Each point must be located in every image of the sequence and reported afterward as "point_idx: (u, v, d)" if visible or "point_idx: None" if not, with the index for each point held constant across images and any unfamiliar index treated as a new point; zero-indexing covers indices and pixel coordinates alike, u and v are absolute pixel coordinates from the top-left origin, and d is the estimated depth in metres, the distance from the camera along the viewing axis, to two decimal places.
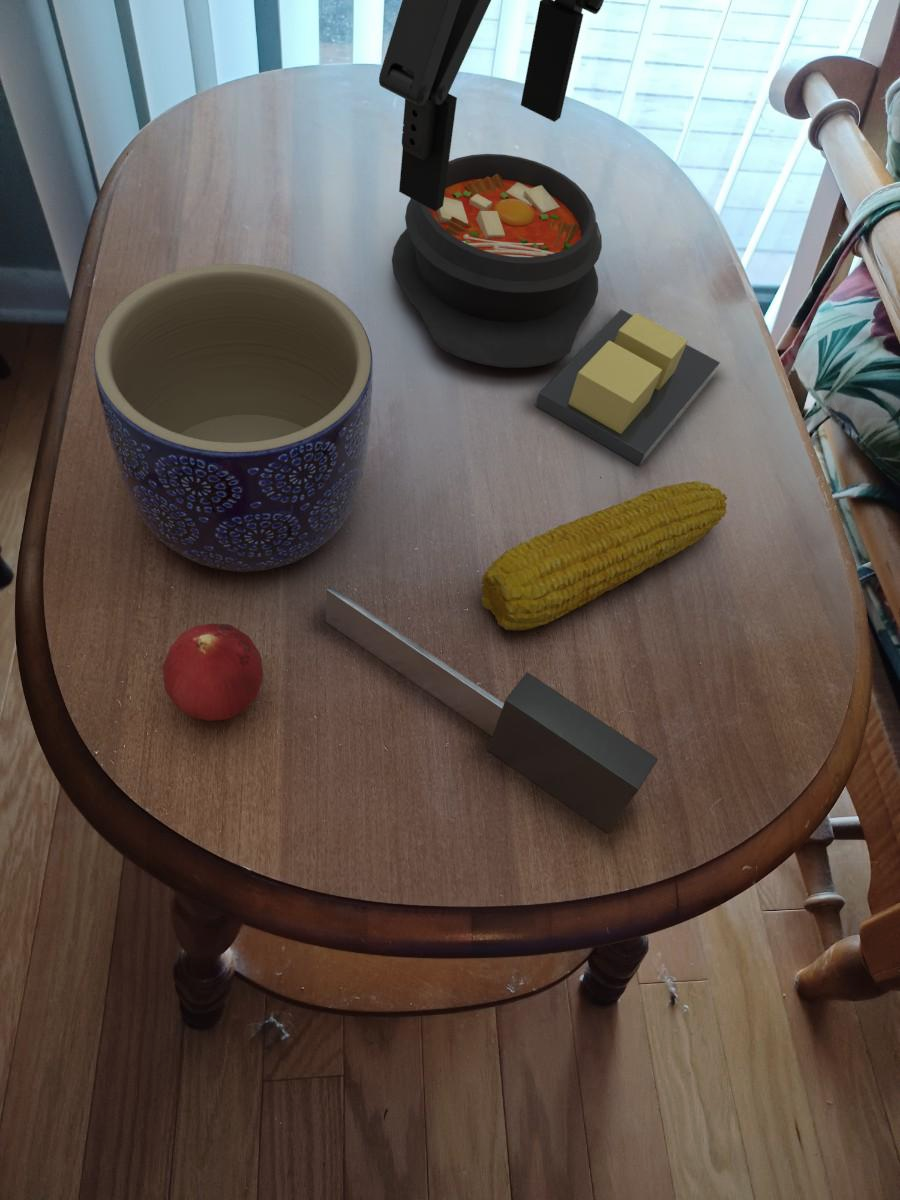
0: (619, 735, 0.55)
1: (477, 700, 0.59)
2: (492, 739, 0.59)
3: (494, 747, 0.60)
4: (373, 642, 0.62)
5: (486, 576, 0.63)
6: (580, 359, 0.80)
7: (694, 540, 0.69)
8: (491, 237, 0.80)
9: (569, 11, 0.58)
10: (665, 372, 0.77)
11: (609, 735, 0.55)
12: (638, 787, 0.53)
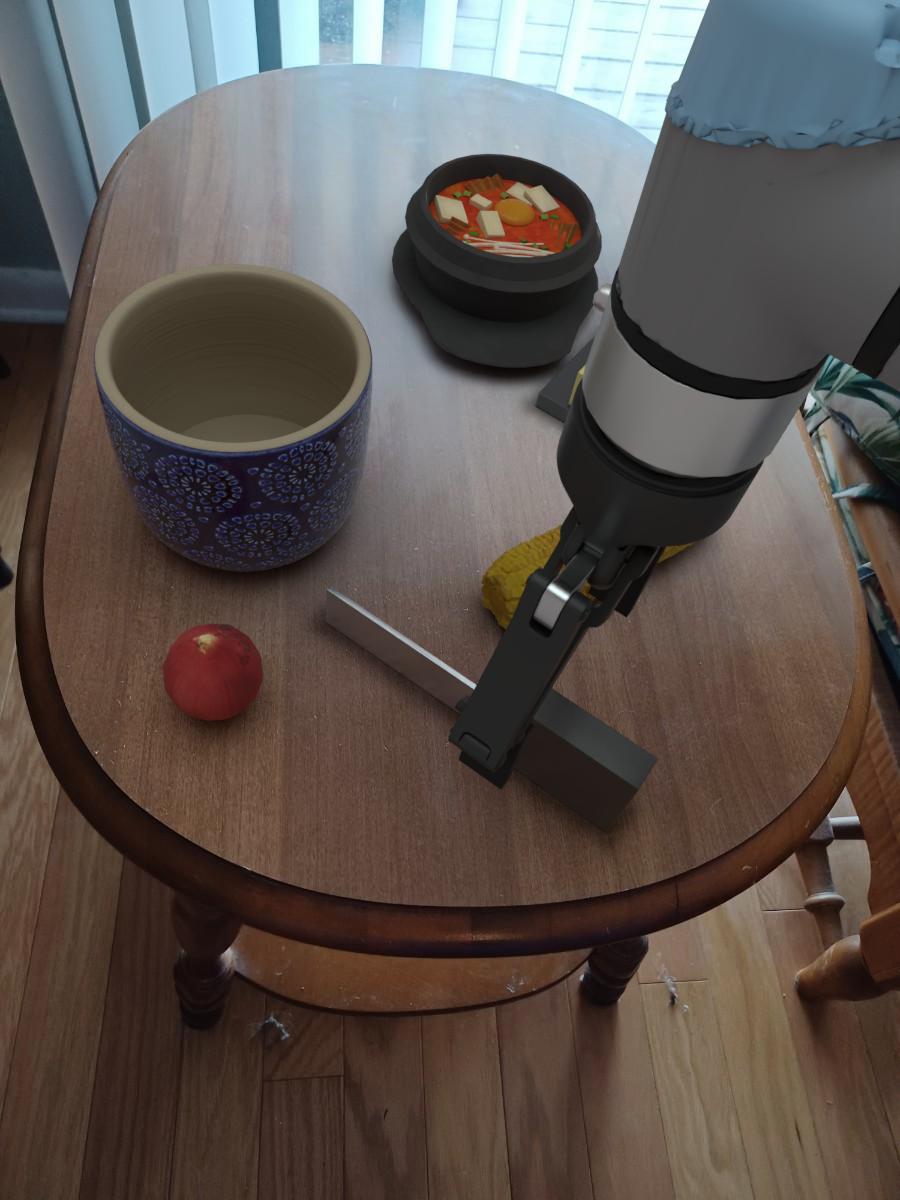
0: (619, 735, 0.55)
1: None
2: None
3: None
4: (373, 642, 0.62)
5: (486, 576, 0.63)
6: (580, 359, 0.80)
7: None
8: (491, 237, 0.80)
9: None
10: None
11: (609, 735, 0.55)
12: (638, 787, 0.53)
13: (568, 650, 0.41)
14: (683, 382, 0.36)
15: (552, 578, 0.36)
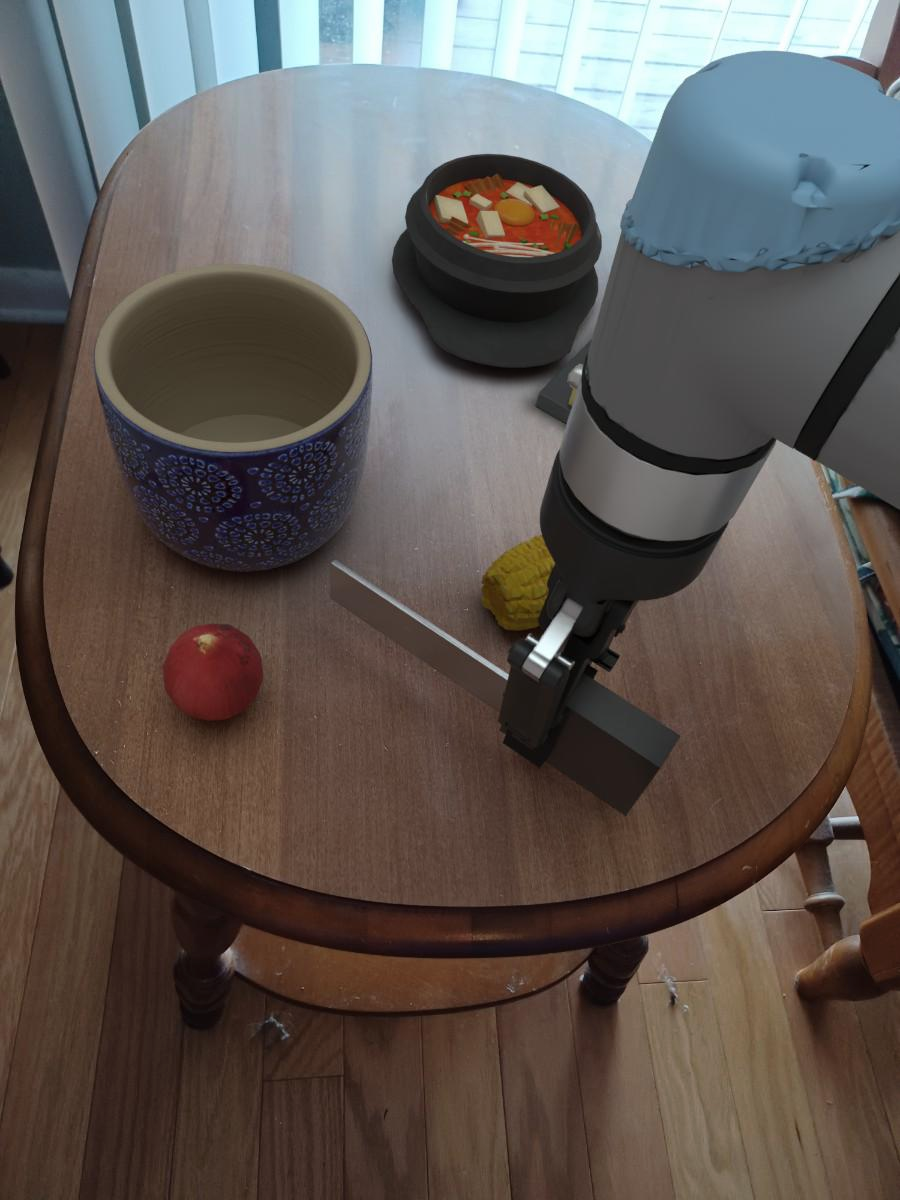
0: (639, 711, 0.52)
1: (489, 677, 0.56)
2: None
3: None
4: (379, 619, 0.60)
5: (486, 576, 0.63)
6: (580, 359, 0.80)
7: None
8: (491, 237, 0.80)
9: None
10: None
11: (628, 711, 0.52)
12: (660, 765, 0.50)
13: (576, 672, 0.46)
14: None
15: (528, 652, 0.41)
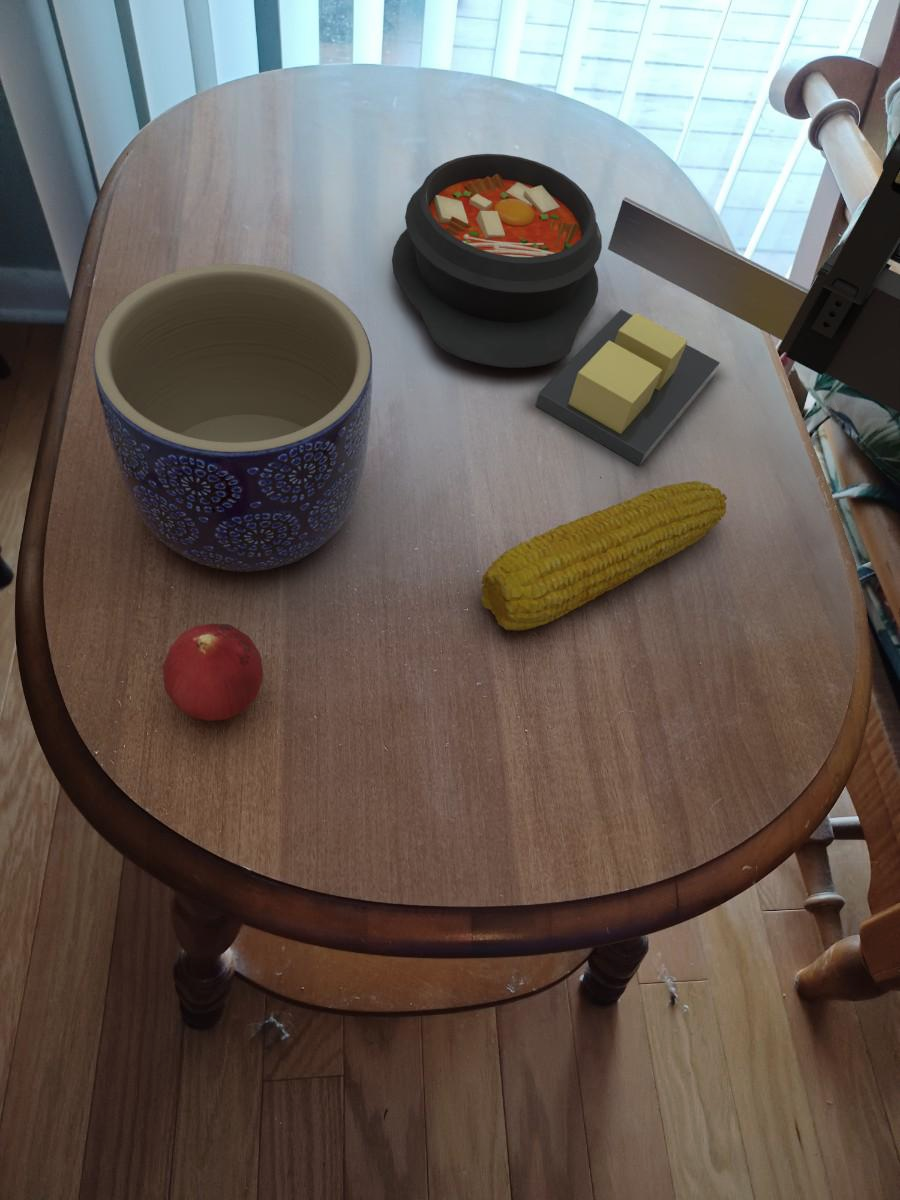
0: None
1: (776, 292, 0.62)
2: (790, 329, 0.63)
3: (789, 340, 0.63)
4: (662, 256, 0.66)
5: (486, 576, 0.63)
6: (580, 359, 0.80)
7: (694, 540, 0.69)
8: (491, 237, 0.80)
9: None
10: (665, 372, 0.77)
11: None
12: None
13: None
14: None
15: None
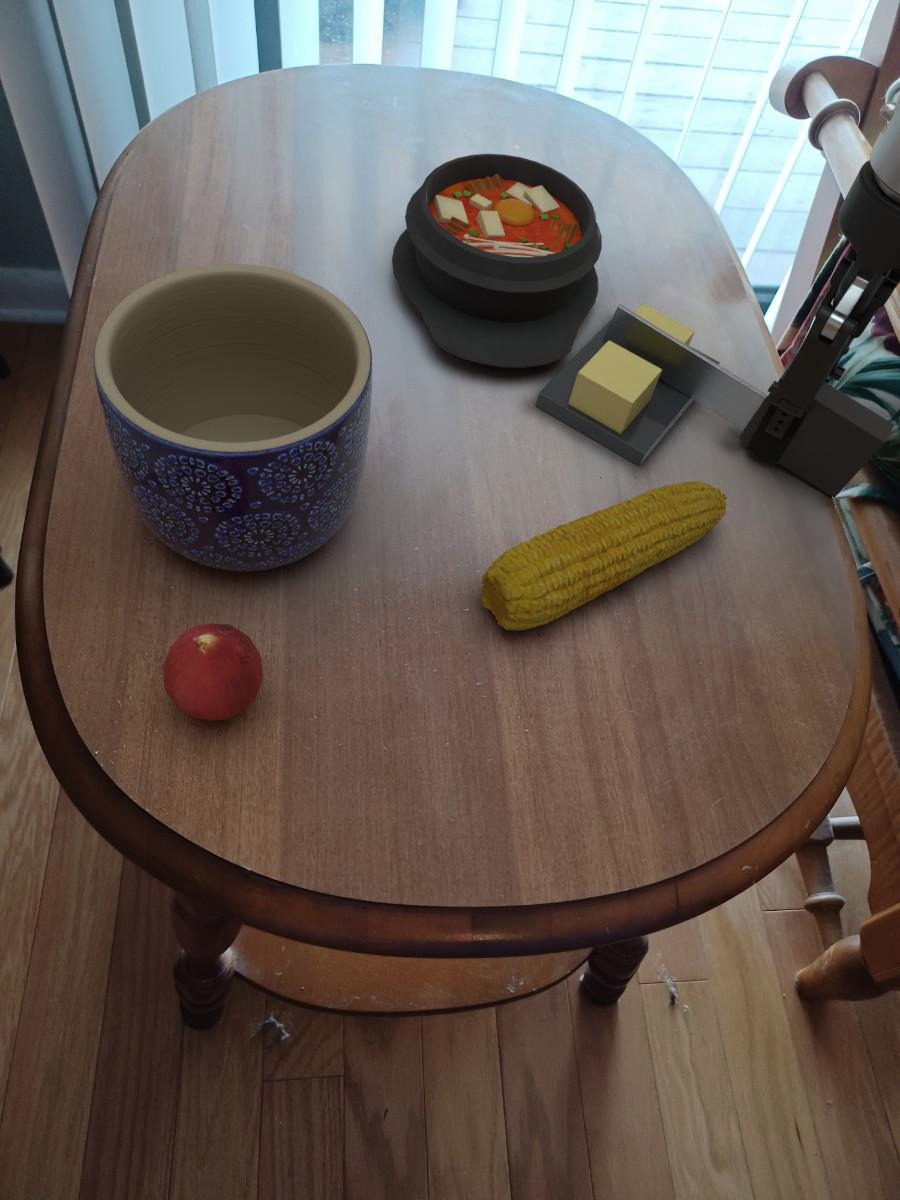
0: (864, 407, 0.72)
1: (739, 393, 0.76)
2: (749, 424, 0.76)
3: (748, 432, 0.77)
4: (647, 354, 0.79)
5: (486, 576, 0.63)
6: (580, 359, 0.80)
7: (694, 540, 0.69)
8: (491, 237, 0.80)
9: None
10: None
11: (858, 407, 0.72)
12: (884, 440, 0.71)
13: (838, 353, 0.66)
14: None
15: (831, 312, 0.61)
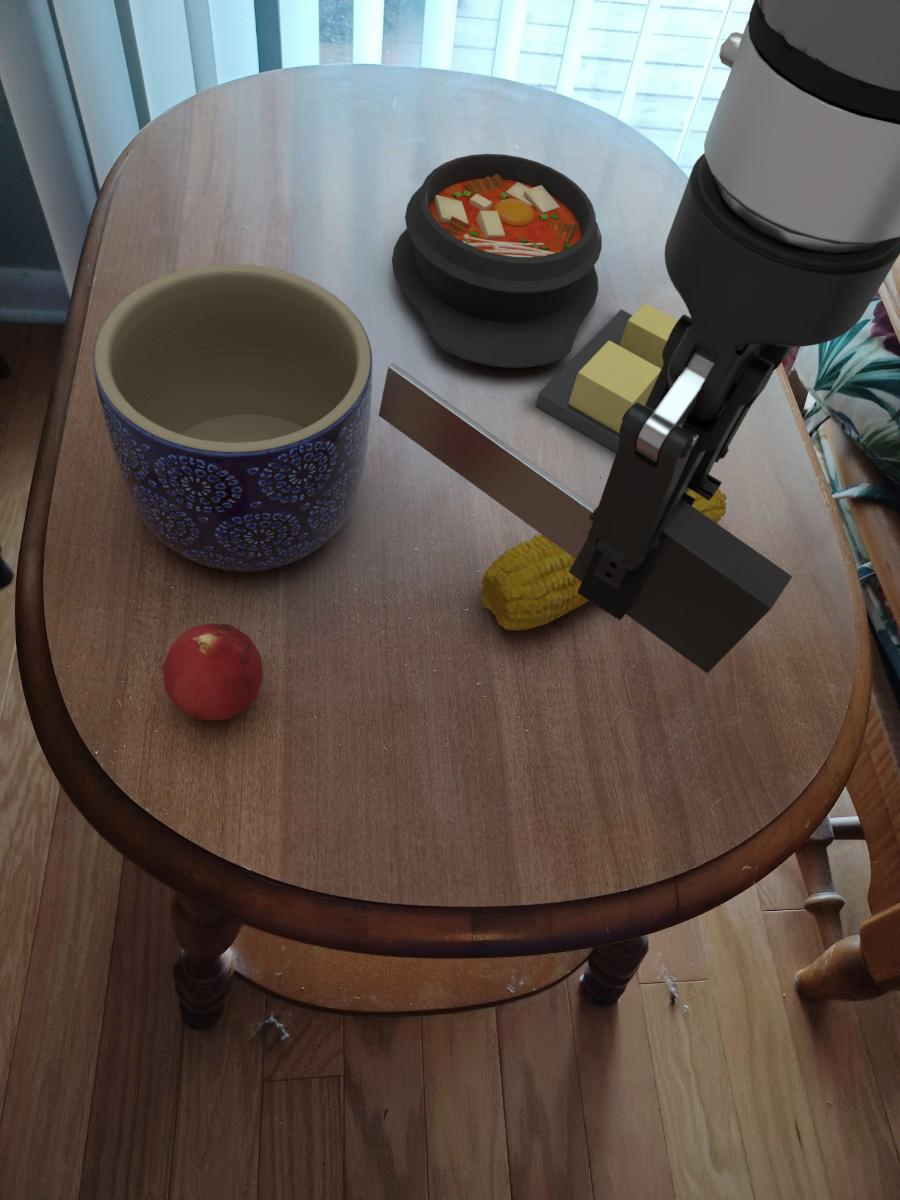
0: (746, 547, 0.45)
1: (565, 507, 0.49)
2: (579, 555, 0.50)
3: (579, 567, 0.50)
4: (438, 438, 0.52)
5: (486, 576, 0.63)
6: (580, 359, 0.80)
7: None
8: (491, 237, 0.80)
9: None
10: None
11: (735, 545, 0.45)
12: (771, 605, 0.44)
13: (686, 472, 0.40)
14: None
15: (647, 416, 0.34)
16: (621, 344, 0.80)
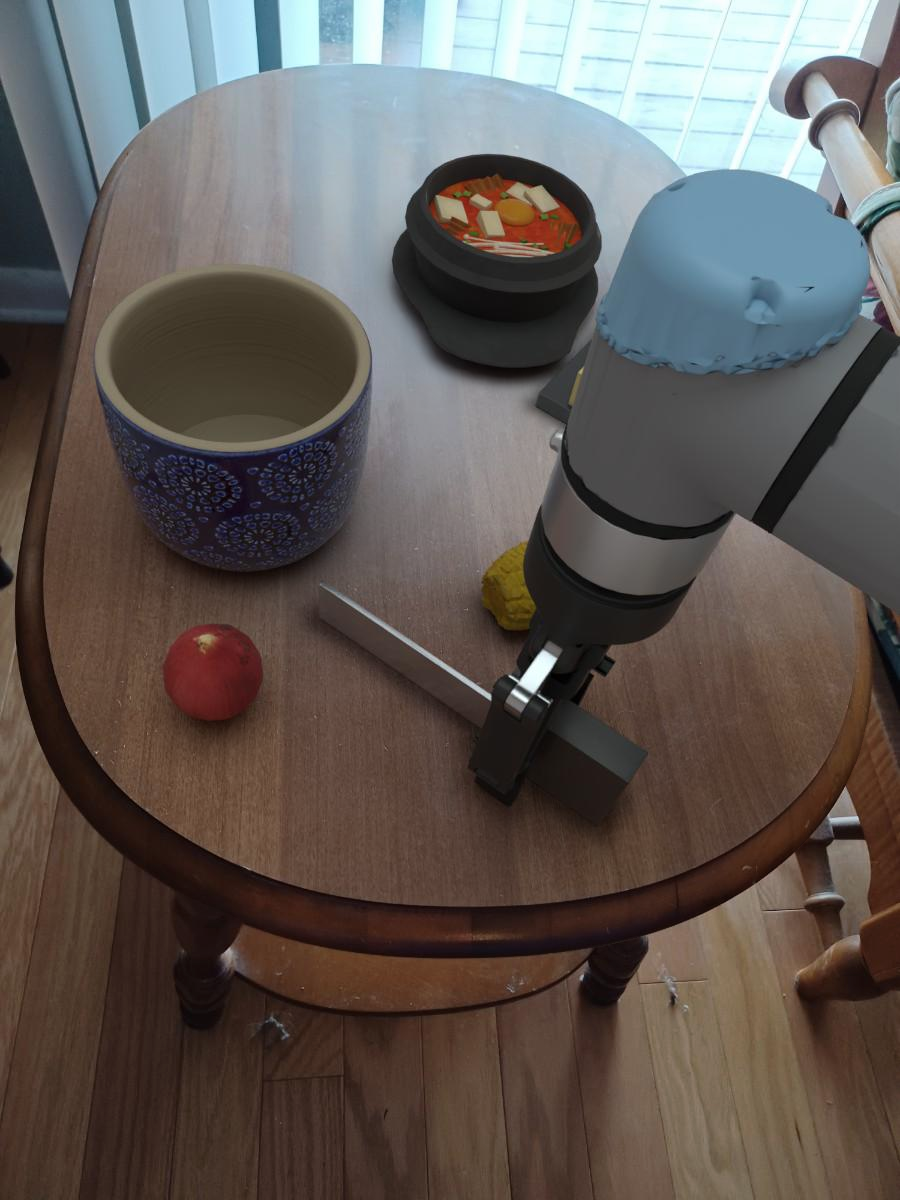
0: (609, 729, 0.55)
1: (469, 694, 0.59)
2: None
3: None
4: (365, 637, 0.63)
5: (486, 576, 0.63)
6: (580, 359, 0.80)
7: None
8: (491, 237, 0.80)
9: None
10: None
11: (600, 729, 0.55)
12: (628, 781, 0.53)
13: (549, 713, 0.49)
14: None
15: (512, 687, 0.43)
16: None
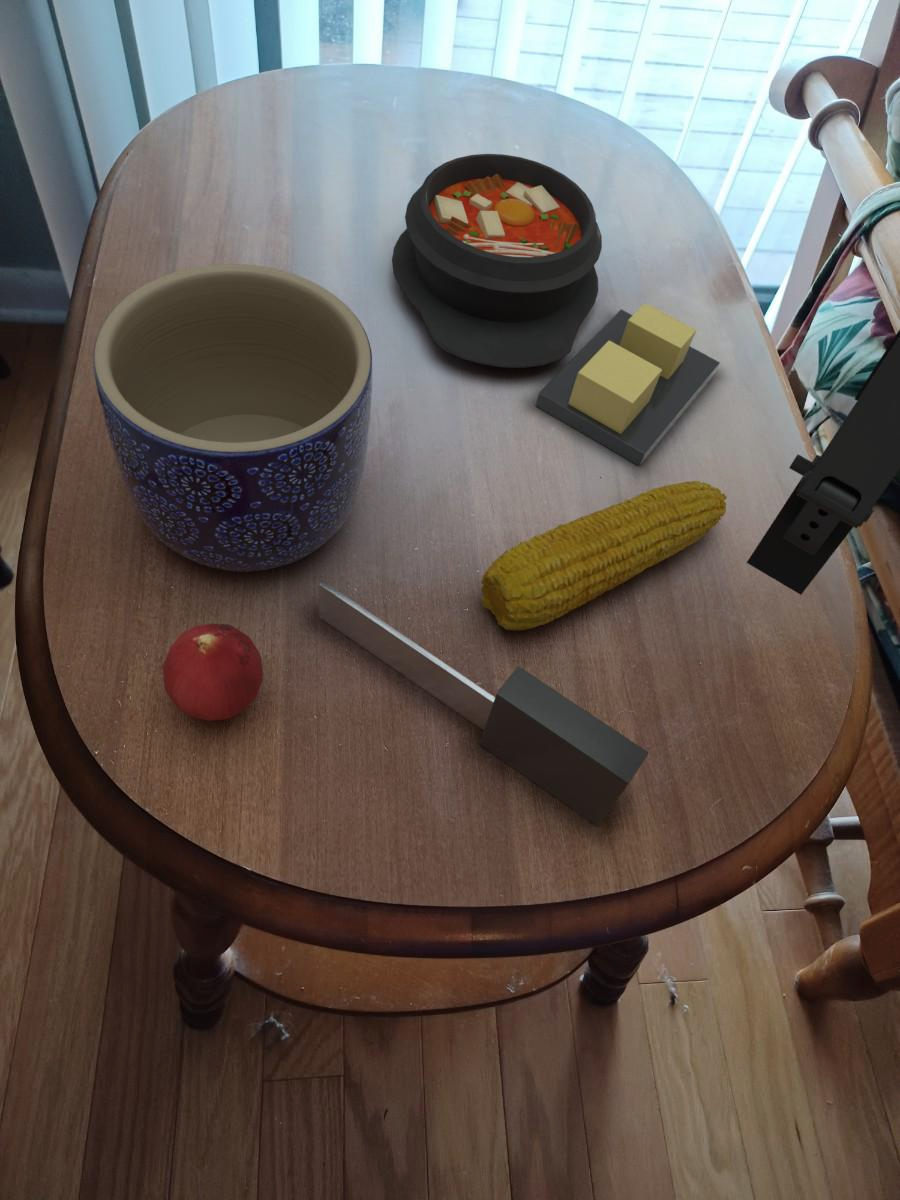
0: (609, 729, 0.55)
1: (469, 694, 0.59)
2: (484, 733, 0.59)
3: (486, 741, 0.60)
4: (365, 637, 0.63)
5: (486, 576, 0.63)
6: (580, 359, 0.80)
7: (694, 540, 0.69)
8: (491, 237, 0.80)
9: None
10: (674, 361, 0.78)
11: (600, 729, 0.55)
12: (628, 781, 0.53)
13: None
14: None
15: None
16: (621, 344, 0.80)
